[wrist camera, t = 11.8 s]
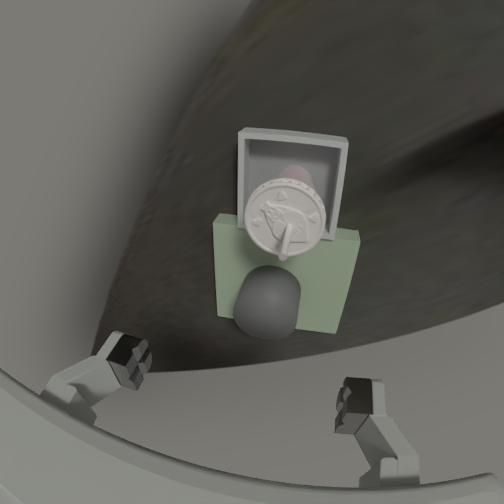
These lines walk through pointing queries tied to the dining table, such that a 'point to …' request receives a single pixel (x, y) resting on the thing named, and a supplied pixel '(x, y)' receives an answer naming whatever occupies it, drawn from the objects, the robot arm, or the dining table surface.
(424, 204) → the dining table surface
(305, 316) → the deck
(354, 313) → the dining table surface
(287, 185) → the smoothie
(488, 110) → the dining table surface
